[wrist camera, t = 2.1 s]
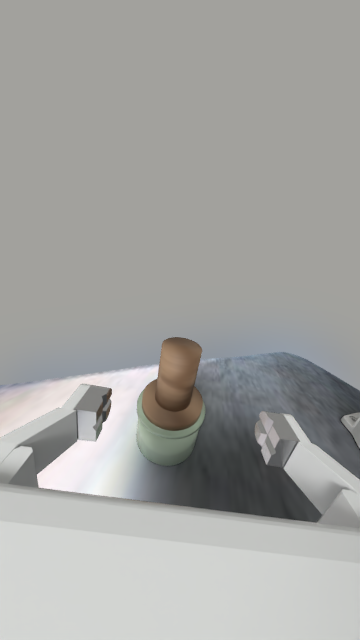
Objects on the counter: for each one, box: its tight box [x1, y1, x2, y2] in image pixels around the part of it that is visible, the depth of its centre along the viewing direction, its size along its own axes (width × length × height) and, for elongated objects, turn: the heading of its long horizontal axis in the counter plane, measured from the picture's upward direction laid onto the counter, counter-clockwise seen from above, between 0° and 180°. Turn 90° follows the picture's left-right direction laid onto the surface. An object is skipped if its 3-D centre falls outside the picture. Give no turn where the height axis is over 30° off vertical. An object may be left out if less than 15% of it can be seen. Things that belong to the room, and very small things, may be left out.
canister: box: [136, 390, 205, 466], centre depth 26 cm, size 10×10×6 cm
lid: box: [142, 337, 203, 431], centre depth 24 cm, size 8×8×9 cm
